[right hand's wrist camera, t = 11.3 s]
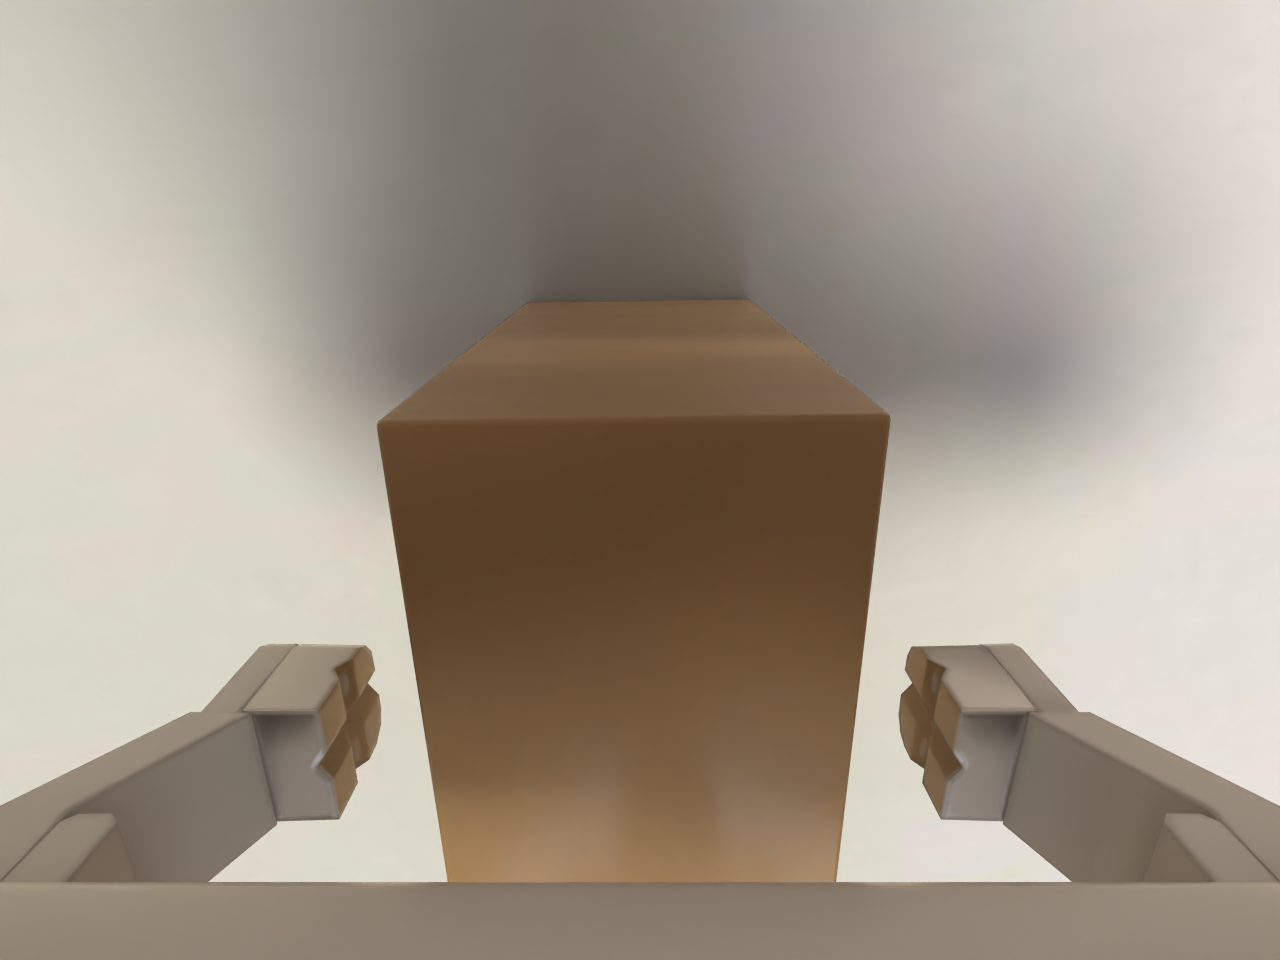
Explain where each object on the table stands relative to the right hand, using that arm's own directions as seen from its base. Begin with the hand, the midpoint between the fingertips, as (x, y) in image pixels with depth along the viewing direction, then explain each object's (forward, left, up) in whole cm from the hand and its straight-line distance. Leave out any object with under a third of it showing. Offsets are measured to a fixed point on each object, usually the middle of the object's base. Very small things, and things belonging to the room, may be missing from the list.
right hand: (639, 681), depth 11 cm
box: (+5, 0, -9) cm, 11 cm away
